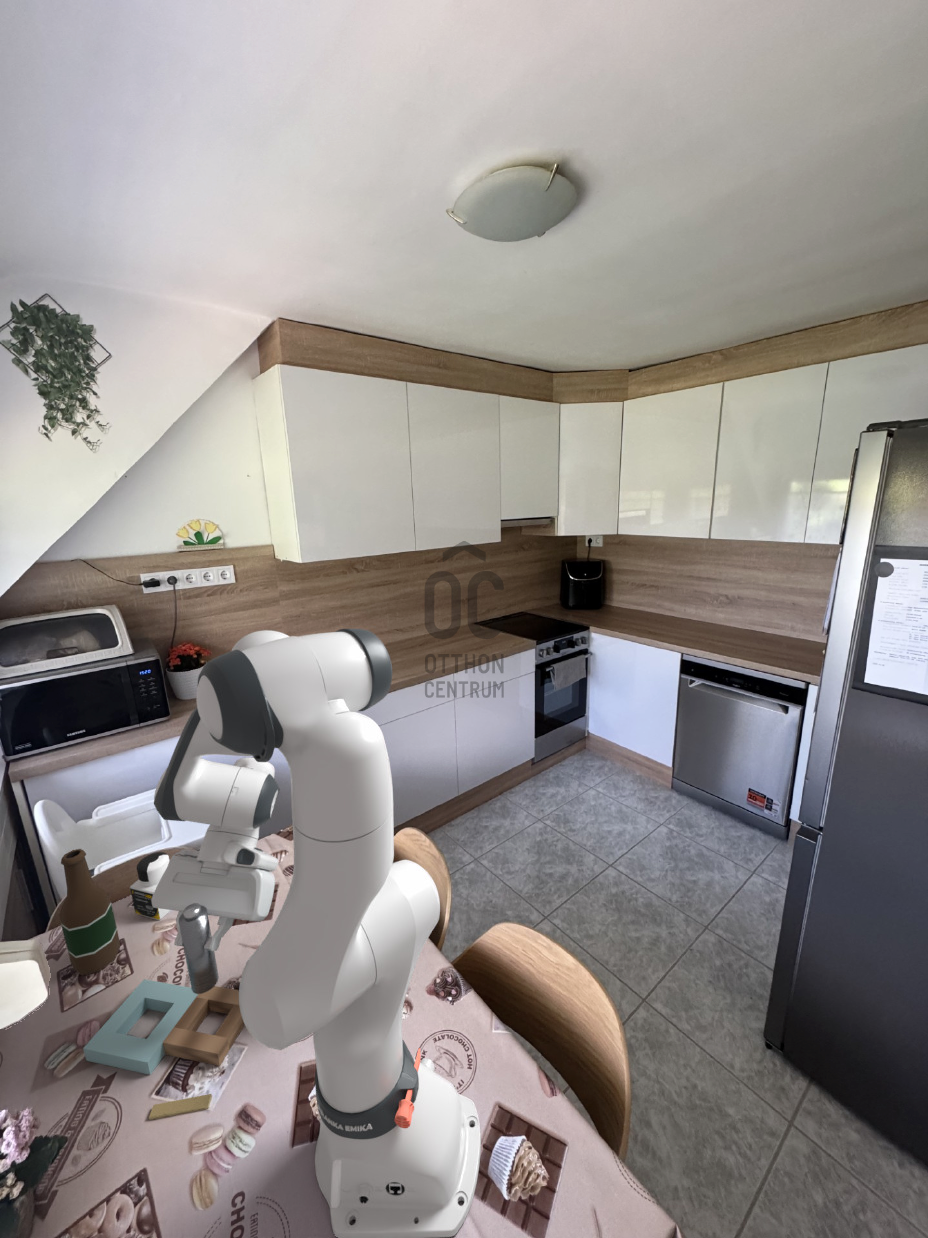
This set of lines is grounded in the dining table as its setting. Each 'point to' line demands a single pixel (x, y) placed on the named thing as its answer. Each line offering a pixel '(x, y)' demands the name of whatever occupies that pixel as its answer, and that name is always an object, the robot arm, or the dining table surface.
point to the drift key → (180, 1106)
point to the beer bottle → (87, 918)
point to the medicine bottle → (149, 884)
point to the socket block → (202, 1045)
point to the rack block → (112, 1038)
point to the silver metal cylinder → (198, 948)
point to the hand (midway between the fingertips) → (195, 948)
